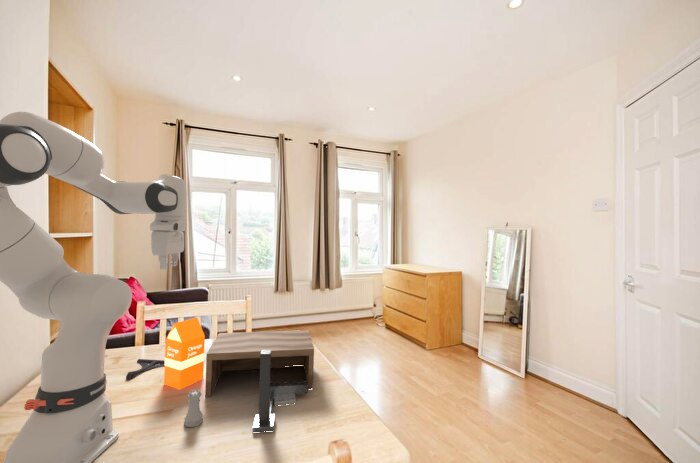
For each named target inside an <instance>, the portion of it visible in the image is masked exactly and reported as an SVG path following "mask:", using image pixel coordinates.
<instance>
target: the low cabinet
mask: <svg viewBox="0 0 700 463" xmlns="http://www.w3.org/2000/svg"><path fill="white" fill-rule="evenodd" d="M261 350H271V367H284V368H286V367H285V366H293V365H304V366H303V368H304V367H305V369H304V373H306V375H305V380H306V379H307V380H306V381H307V385H308V386H307V390H308V389H311V388H313V389H314V366H315V365H314V364H315V359H314V358H315V347H314V344H313V340H312V336H311V334H310V330H308V329H305V330H304V329H303V330H278V331H277V330H272V331H271V330H270V331H269V330H268V331H250V332H249V331H246V332H245V331H244V332H243V331H242V332H219V333H218V334H217V336H216V338H215V339H214V341H213V343H211V346H210V347H209V349H208V351H207V352H206V363H205V364H206V365H205V390H204V392H205V393H204V397H205V398H211V397H212V395H213V393H214V391H215V387H216V385H217V383H218V380H219V378H220V376H221V373H222V372H225V371H226V372H227V371H228V372H229V371H243V370H244V371H246V370H248V371H249V370H260V353H261Z"/></svg>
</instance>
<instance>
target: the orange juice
mask: <svg viewBox="0 0 700 463" xmlns="http://www.w3.org/2000/svg"><path fill="white" fill-rule="evenodd" d="M205 338H206V336H205V332H204V331H203V328H202V326H201V323H200V321H199V319H198V317H193V318H189V319H186V320H183V321H178V322H175V323H173V326H172V327H171V330H170V331H169V332H168V334H167V336H166V338H165V342H164V343H165V346H164V347H165V348H164V360H165V366H164V374H163V375H164V378H163V379H164V380H163V384H164V385H165V386H168V387H172V388H173V389H177V390H182V389H184V388H186V387H189V386H191V385H193V384H195V383H197V382H199V381H201V380H204V371H205V370H204V369H205V368H204V367H205V366H204V365H205V363H204V362H205Z"/></svg>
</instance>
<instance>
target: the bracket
mask: <svg viewBox="0 0 700 463" xmlns="http://www.w3.org/2000/svg"><path fill="white" fill-rule="evenodd" d="M136 364H138V365H140V366H141V368H139V369H136V370H134V371H129V372H127V374H126V375H125V380H126V381H130V380H133V379H134V378H136V377H137V376H139V375H141V374H142V373H144V372H146V371H150V370H152V369H156V368H162V367H165V359H163V360H161V359H158V360H157V359H145V358H139V359H137V361H136Z"/></svg>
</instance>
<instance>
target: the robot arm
mask: <svg viewBox="0 0 700 463" xmlns="http://www.w3.org/2000/svg"><path fill="white" fill-rule="evenodd" d="M104 167H105V160H104V154H103V152H102V150H101V149H99V148H98V147H97V146H96V145H95V144H94V143H92V142H91V141H89V140H88V139H86V138H85V137H83V136H81V135H80V134H77V133H76V132H74V131H73V130H71V129H70V128H67V127H65V126H63V125H61V124H59V123H57V122H55V121H52V120H50V119H47V118H45V117H42V116H41V115H37V114H35V113H32V112H28V111H15V112H10V113H9V114H7V115H5V116H4V117H2V118H1V119H0V282H1V283H2V284H4V286H6V287H7V288H8V289H9V290H10V291H11V292H12V293H13V294H14V295H15V297H17V299H18V302H19V304H20V307H21V308H22V309H24V310H25V311H26V312H28V313H30V314H32V315H35V316H36V317H39V318H41V319H46V320H47V319H48V320H52V321H53V320H54V321H59V327H58V328H59V330H58V332H57V335H56V337H55V339H54V341H53V342H52V343H50V344H49V345H47V347H46V348H45V349H44V350H43V352H42V353H41V354H42V355H41V366H40V367H41V372H40V385H39V387H38V389H37V392H36V394H35V397H34V398H32V399H31V398H30V399H27V401H25V404H24V407H23V408H24V410H25V411H32V412H31V414H30V415H29V416H28V419H27V420H26V421H25V422H24V424H23V426H22V427H21V428H20V429H19V432H18V433H17V435H16V436H15V437H14V439H13V440H12V442H11V444H10V445H9V447H8V448H7V449H6V452H5V454H4V460H3V463H92V462H93V461H94V460H96V458H98V457H99V456H100V455H101V454H102V453H103V452H104V451H106V450H107V449H108V448H109V447H110V446H111V445H112V444H113V443H115V441H117V440H118V439H119V437H120V436H119V432H118V430H115V429H114V428H113V427H114V426H113V412H112V411H113V410H112V402H111V401H110V400H109V399H108V397H107V396H106V394H105V392H106V389H107V375H106V373H105V361H106V360H105V359H106V358H105V357H106V345H107V342H108V338H109V335H110V333H111V330H112V328H113V327H114V325H115V323H116V322H117V321H118V320H120V319H121V318H123V316H125V315H126V313H127V312H128V310H129V309H130V307H131V305H132V301H133V300H132V299H133V293H132V288H131V287H130V286H129V284H128V283H127V282H125V281H123V280H121V279H120V278H119V279H118V278H115V277H113V276H111V275H109V274H108V275H107V274H95V273H86V272H81V271H78V270H76V269H75V268H72V267H71V266H70V265H69V264H68V262H66V260H65V258H64V255H65V251H64V247H63V245H61V244H60V243H59V242H58V241H57V240H56V239H55V238H54V237H53V236H51V235H50V233H48V232H47V231H46V229H43V228H42V226H40V225H39V223H37V222H36V221H35V220H34V219H33V218H32V217H30V216H29V215H28V214H26V213H25V212H24V211H23V210H21V208H19V207H18V206H17V205H16V204H15V202H14V201H13V200H12V198H11V196H10V194H9V193H10V192H9V189H8V187H11V186H21V185H26V184H29V183H31V182H34V181H36V180H38V179H40V178H41V177H42V176H44V175H45V174H46V175H48V176H50V177H53V178H55V179H57V180H59V181H62V182H65V183H67V184H69V185H71V186H73V187H75V188H76V189H78V190H80V191H82V192H84V193H86V194H88V195H90V196H92V197H94V198H96V199H98V200H100V201H101V202H103V203H104V204H105V205H106V207H108V208H109V209H110V210H111V211H112V212H114V213H115V214H117V215H118V214H119V215H133V214H134V215H135V214H138V215H139V214H142V215H143V214H144V215H145V214H151V215H153V214H154V220H153V221H152V222H151V223H150V225H149V230H150V231H151V234H150V238H151V240H150V242H151V243H150V244H151V252H152V255H153V256H158V262H159V268H160V270H168V268H169V263H168V256H169V255H171V257H170V258H171V259H170V261H169V262H170V267H177V266H178V260H179V257H180V253H183V252H184V250H185V233H184V232H186V225H187V224H186V220H187V219H186V217H187V215H186V212H185V211H186V210H185V209H186V207H187V188H186V187H187V186H186V183H185V180H184V178H181V177H179V176H177V175H172V174H161V175H159V176H158V177H157V178H156V179H152V180H148V181H124V180H123V181H120V180H119V181H118V180H112V179H110V178H108V176H105V175H104V174H102V173H103V170H104Z"/></svg>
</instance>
